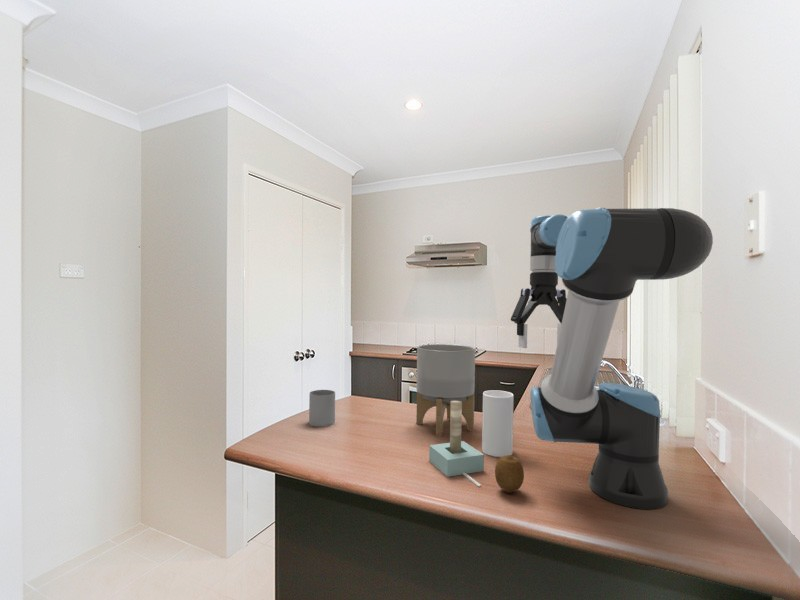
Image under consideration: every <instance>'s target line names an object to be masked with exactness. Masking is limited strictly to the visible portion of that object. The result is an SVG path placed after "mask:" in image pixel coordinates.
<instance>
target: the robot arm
mask: <svg viewBox="0 0 800 600" xmlns="http://www.w3.org/2000/svg"><path fill="white" fill-rule="evenodd" d="M530 224H531V225H530V229H529V231H530V258H529V259H530V261H529V264H530V265H529V270H530V274H529V285H530V288H529V287H527V288H521V289H520V296H519V298H518V300H517V303H516V306H515V308H514V309H513V312H512V315H511V317H510V321H511V322H513V323H514V324H516V335H517V336H518V348H522V349H527V348H528V324H526V322H527V321H528V319H529V318H530V316H531V315H532V314H533V312H534V311H535V310H536V308H537V307H538V306H541V305H542V306H544V305H545V306H546V305H547V306H548V307H549V308H550V310H551V311H552V313H553V314H554V315H555V317H556V318H557V320H558V321H559V323H557V325H556V327H557V329H556V330H557V331H556V349H555V354H554V359H553V363H552V368H551V371H550V374H548V375H546V376H545V377H544V378H543V379H542V382H541V384H540V387H539V386H536V387H535V386H534V387H532V388H531V389H530V409H531V416H532V423H533V427H534V433H535V435H536V437H537V438H538V439H540V440H541V441H545V442H546V441H547V442H553V443H568V444H569V443H574V444H589V445H590V444H592V445H593V444H594V445H598V452H597V455H596V457H595V460H594V462H593V466H592V467H591V468H592V469H591V471H590V473H589V476H588V477H589V478H588V479H589V481H588V482H589V488H590V489H591V491H592V492H594V493H595V494H596V495H598V496H599V497H600V498H603V499H605V500H607V501H609V502H612V503H614V504H617V505H621V506H623V507H624V506H625V507H628V508H629V507H630V508H634V509H644V510H653V509H654V510H655V509H660V508H663V507H664V506H666V505H667V504H668V502H669V501H668V498H669V495H668V494H669V492H668V488H667V485H666V482H665V480H664V475H663V473H662V469H661V466H660V463H659V462H660V461H659V460H660V459H659V457H660V455H659V453H660V431H661V430H660V428H661V427H660V426H661V422H660V421H661V417H662V415H661V409H660V400H659V398H658V397H657V395H656V394H654V393H652V392H651V391H648V390H646V389H641V388H639V387H634V386H630V385H625V384H621V383H615V382H601V383H600V384H599V386H598V389H597V388H596V386H595V385H596V382H597V378H598V374H599V370H600V368H601V364H602V361H603V358H604V354H605V351H606V347H607V344H608V340H609V337H610V334H611V330H612V327H613V324H614V321H615V318H616V314H617V310H618V307H619V303H620V302H621V301H624V300H626V299H628V298H630V296H631V295H632V294H633V291H634V288H635V286H636V283H637V281H638V280H640V281H641V280H642V281H643V280H646V281H647V280H648V281H649V280H652V281H654V280H658V281H659V280H660V281H661V280H663V281H664V280H671V279H675V278H679V277H683V276H685V275H687V274H690V273H692V272H693V271H695V270H696V269H698V268H700V266H701V265H702V264H704V262H705V261H706V260H707V258H708V257H709V256H710V254H711V251H712V247H713V243H714V241H713V240H714V239H713V233H712V230H711V228H710V226H709V225H708V223H707V222H706V221H705V220H704V219H703V218H702V217H700V216H699V215H697V214H695V213H693V212H690V211H687V210H684V209H678V208H673V207H672V208H671V207H669V208H667V207H665V208H663V207H661V208H660V207H659V208H606V207H596V208H593V209H589V208H588V209H580V210H576V211H574V212H573V213H571V214H570V215H569V216H567V215H564V214H561V213H559V214H554V215H550V214H549V215H547V214H546V215H539V216H535V217H533V218H531V222H530ZM559 278H561V282H562V285H563V287H564V288H565V289H563V288H562V289H561V288H559V289H557V286H558V285H559ZM566 290H567V291H568V292H566ZM566 293H567V294H566Z"/></svg>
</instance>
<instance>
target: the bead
mask: <svg viewBox="0 0 800 600" xmlns="http://www.w3.org/2000/svg"><path fill="white" fill-rule="evenodd" d="M428 450H429V453H428V454H429V455H428V461H429V462H430V463H431V464H432V465H433V466H434V467H436V469H438V470H439V471H440V472H441V473H443V474H444V475H445V476H446V477H447V478H448V477H453V476H454V477H455V476H460V475H463V473H466V474H473V473H479V472H484V471H485V470H484V469H485V468H484V467H485V458H484V457H485V453H482V452H481V451H480V450H478V449H476V448H474V447H473V446H472V445H470V444H469V443H467V442H466V441H464V440H461V453H457V454H452V453H450V442H445V443H438V444H437V443H436V444H430V445H429V449H428Z"/></svg>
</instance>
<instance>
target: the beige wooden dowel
mask: <svg viewBox="0 0 800 600" xmlns="http://www.w3.org/2000/svg"><path fill="white" fill-rule="evenodd" d="M462 416H463V415H462V402H460V401H451V411H450V420H449V421H450V422H449V443H450V453H452V454H457V453H461V441H462V422H463V421H462Z"/></svg>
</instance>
